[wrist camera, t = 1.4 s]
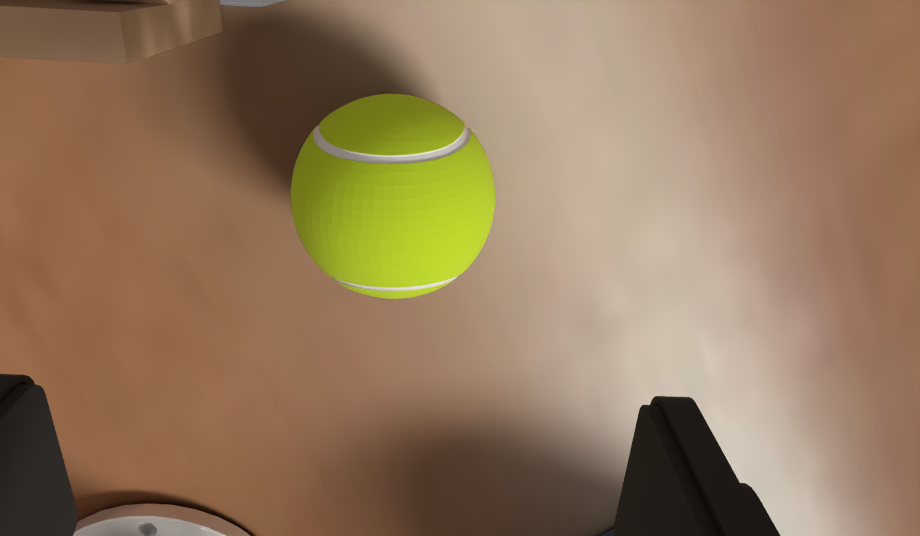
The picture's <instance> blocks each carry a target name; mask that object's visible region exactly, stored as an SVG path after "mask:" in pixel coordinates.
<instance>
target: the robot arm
mask: <svg viewBox="0 0 920 536" xmlns="http://www.w3.org/2000/svg"><path fill="white" fill-rule="evenodd" d="M77 521H78V513H77V508H76V504H75V500H74V497H73V493H72V490H71V486H70V482H69V479H68V475H67V471H66V468H65V464H64V460H63V457H62V453H61V449H60V446H59V442H58V438H57V435H56V431H55V427H54V424H53V420H52V416H51V413H50V409H49V405H48V402H47V398H46V394H45V392H44V389H43V388H42V387H41V386H39V385H35V384H34V381H33V380H32V379H31V378H30V377H29V376H26V375H11V374H0V536H250V535H249V534H248V533H246V532H245V531H243V530H242V529H241V528H239V527H237V526H235V525H233V524H231V523H229V522H227V521H225V520H223V519H221V518H219V517H217V516H214V515H211V514H208V513H205V512H202V511H199V510H196V509H191V508H186V507H181V506H176V505H168V504H150V503H145V504H134V505H123V506H119V507H114V508H110V509H106V510H102V511H99V512H97V513H95V514H93V515H90V516H88V517H86V518H84V519H82V520H80V521H79V522H77ZM614 536H780V534H779V533H778V531H777V529H776V527H775V526H774V524H773V522H772V520H771V519H770V517H769V515H768V513H767V511H766V510H765V508H764V506H763V504H762V503H761V501H760V499H759V497H758V496H757V494H756V493H755V492H754V490H753V489H752V488H751V487H750V486H748V485H747V484H745V483H739V481H738V479H737V477H736V475H735V473H734V472H733V470H732V468H731V466H730V464H729V463H728V461H727V459H726V457H725V455H724V453H723V452H722V450H721V448H720V446H719V444H718V443H717V441H716V439H715V437H714V435H713V433H712V432H711V430H710V428H709V426H708V424H707V423H706V421H705V419H704V417H703V415H702V413H701V412H700V410H699V408H698V406H697V404H696V403H695V401H694V400H693V399H692V398H690V397H665V396H656V397H654V398H653V399H652V401H651V404H650V405H642V406H641V408H640V410H639V414H638V419H637V423H636V428H635V432H634V437H633V442H632V446H631V451H630V455H629V460H628V464H627V469H626V474H625V478H624V483H623V487H622V492H621V497H620V501H619V506H618V510H617V515H616V519H615V524H614Z"/></svg>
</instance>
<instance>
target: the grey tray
mask: <svg viewBox="0 0 920 536" xmlns="http://www.w3.org/2000/svg"><path fill="white" fill-rule="evenodd" d="M282 1H286V0H220V5H234V6H251V7H263V6H267V5H271V4H274V3H278V2H282Z"/></svg>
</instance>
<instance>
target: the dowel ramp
mask: <svg viewBox="0 0 920 536" xmlns="http://www.w3.org/2000/svg"><path fill="white" fill-rule="evenodd" d="M221 32H224V29H223V18H222V7H221V5H220V0H0V57H1V58H20V59H40V60H59V61H78V62H97V63H117V64H129V63H132V62H135V61H138V60H141V59H144V58H147V57H150V56H153V55H156V54H159V53H162V52H165V51H167V50H170V49H173V48H176V47H179V46H182V45H185V44H188V43H191V42H194V41H197V40H200V39H203V38H206V37H209V36H212V35H215V34H218V33H221Z"/></svg>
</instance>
